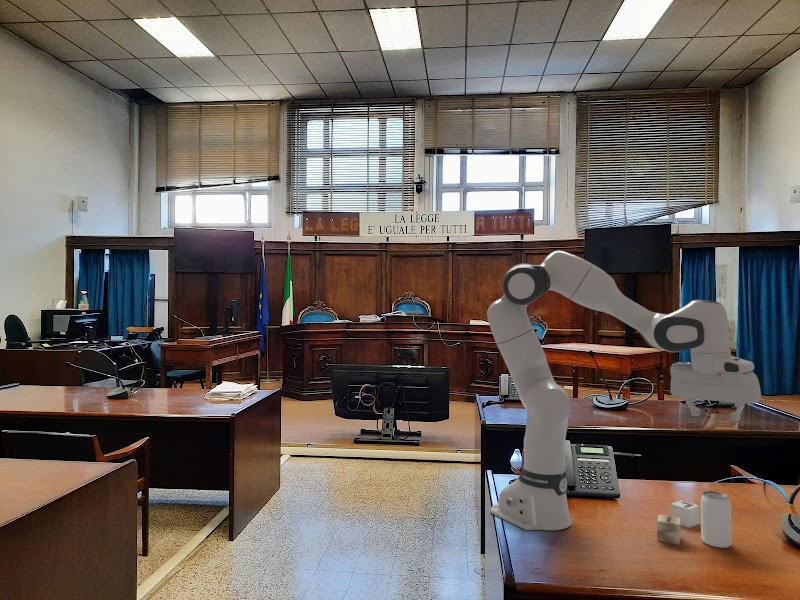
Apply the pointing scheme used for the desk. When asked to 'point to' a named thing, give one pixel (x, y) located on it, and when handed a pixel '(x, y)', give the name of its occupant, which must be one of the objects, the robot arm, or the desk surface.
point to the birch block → (669, 529)
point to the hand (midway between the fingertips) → (715, 417)
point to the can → (716, 519)
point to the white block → (685, 513)
